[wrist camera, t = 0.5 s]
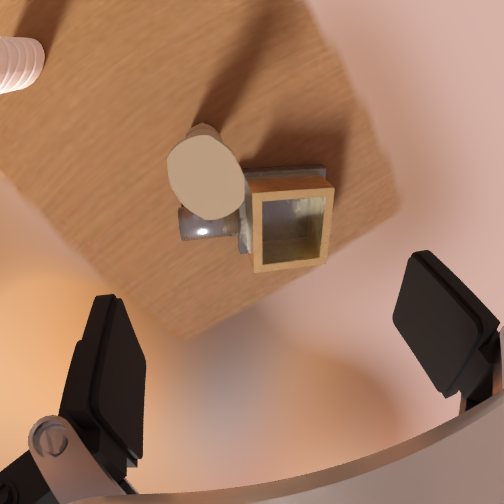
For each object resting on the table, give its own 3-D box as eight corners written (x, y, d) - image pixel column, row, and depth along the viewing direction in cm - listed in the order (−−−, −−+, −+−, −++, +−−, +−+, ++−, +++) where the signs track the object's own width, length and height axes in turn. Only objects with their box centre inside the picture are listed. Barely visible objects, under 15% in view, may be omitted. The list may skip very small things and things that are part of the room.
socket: (175, 175, 36) (172, 197, 30) (322, 164, 38) (343, 183, 33) (186, 253, 42) (186, 284, 36) (316, 239, 44) (332, 266, 39)
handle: (208, 101, 32) (216, 123, 19) (233, 149, 35) (257, 200, 23) (169, 122, 32) (153, 158, 20) (196, 168, 36) (199, 230, 23)
